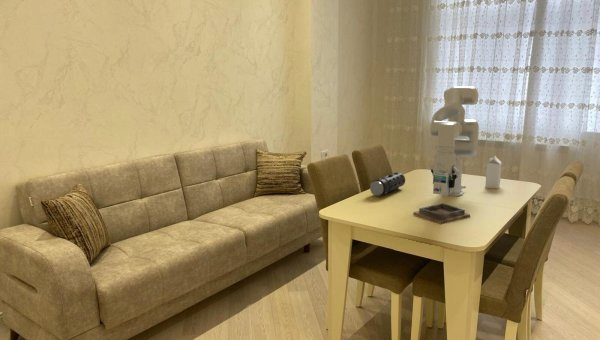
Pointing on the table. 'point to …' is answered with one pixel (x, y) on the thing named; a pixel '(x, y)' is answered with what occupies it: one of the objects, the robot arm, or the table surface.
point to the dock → (441, 213)
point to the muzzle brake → (387, 184)
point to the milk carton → (493, 173)
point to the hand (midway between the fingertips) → (443, 185)
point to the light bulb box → (441, 183)
